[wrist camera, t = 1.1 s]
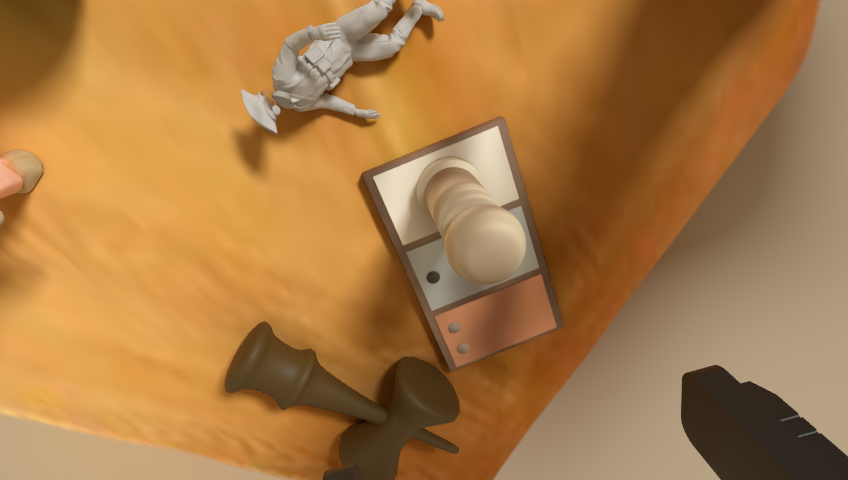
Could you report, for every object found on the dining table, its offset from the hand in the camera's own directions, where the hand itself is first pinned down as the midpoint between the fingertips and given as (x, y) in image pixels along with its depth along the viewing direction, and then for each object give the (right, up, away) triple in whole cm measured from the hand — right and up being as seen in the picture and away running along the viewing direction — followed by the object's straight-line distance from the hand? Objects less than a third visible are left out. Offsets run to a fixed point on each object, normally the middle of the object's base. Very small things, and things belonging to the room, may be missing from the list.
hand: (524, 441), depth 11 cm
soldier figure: (-7, +16, +17) cm, 24 cm away
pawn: (-1, +8, +20) cm, 22 cm away
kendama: (-8, -7, +27) cm, 29 cm away
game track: (+1, +4, +23) cm, 24 cm away
